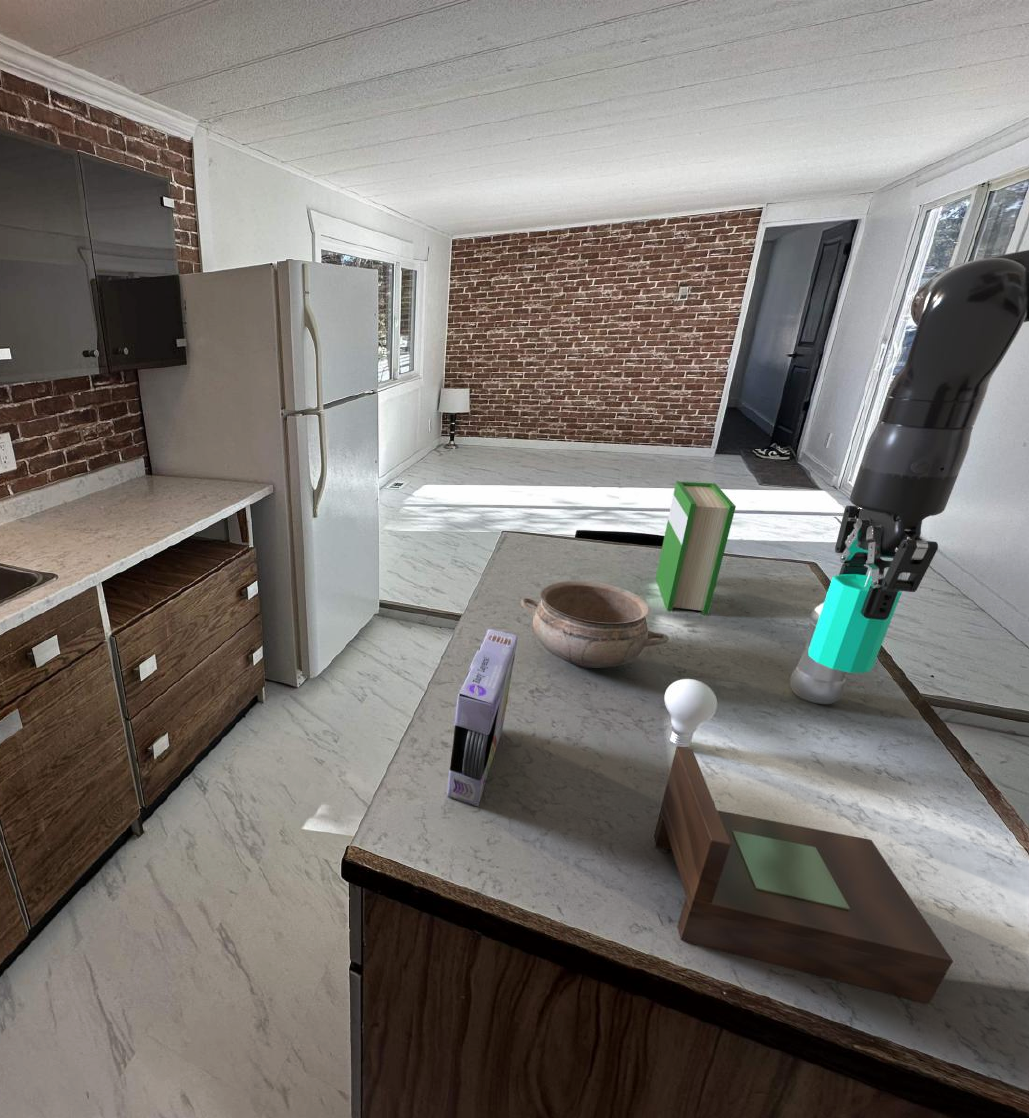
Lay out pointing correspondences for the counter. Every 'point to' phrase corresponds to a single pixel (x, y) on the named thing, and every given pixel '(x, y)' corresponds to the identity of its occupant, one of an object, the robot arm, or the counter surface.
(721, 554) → the hardback book
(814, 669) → the plastic bottle
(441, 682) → the counter surface
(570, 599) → the cooking pot
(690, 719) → the lightbulb
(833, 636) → the candle
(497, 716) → the cake pan box
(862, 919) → the shelf
